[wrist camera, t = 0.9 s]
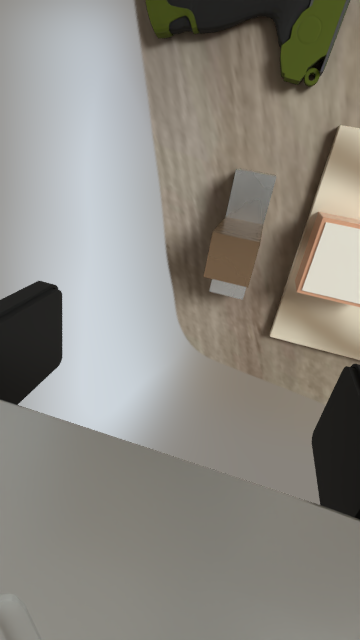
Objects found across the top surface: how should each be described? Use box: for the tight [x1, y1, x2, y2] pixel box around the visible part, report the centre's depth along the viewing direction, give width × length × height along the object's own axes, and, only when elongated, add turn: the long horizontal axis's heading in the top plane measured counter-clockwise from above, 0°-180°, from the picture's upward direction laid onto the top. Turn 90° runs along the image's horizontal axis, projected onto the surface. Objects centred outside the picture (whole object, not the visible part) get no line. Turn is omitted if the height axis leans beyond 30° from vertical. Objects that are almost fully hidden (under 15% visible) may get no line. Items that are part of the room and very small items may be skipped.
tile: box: [295, 212, 360, 307], centre depth 26 cm, size 6×6×3 cm
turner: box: [203, 168, 276, 300], centre depth 26 cm, size 10×3×10 cm, turn 170°
